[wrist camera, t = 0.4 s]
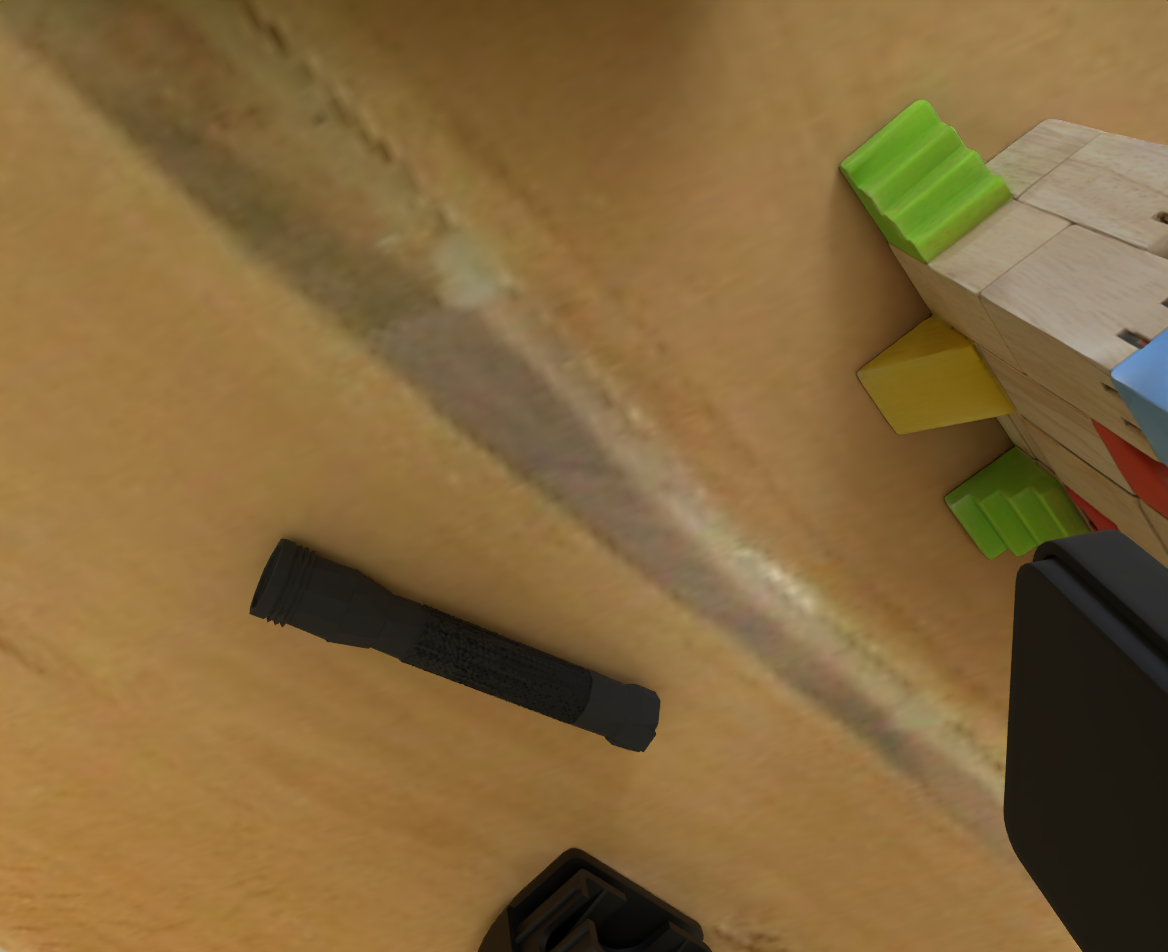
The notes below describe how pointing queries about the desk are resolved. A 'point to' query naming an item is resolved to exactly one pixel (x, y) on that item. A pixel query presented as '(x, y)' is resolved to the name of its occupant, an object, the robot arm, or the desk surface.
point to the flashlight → (448, 646)
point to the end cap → (590, 914)
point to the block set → (1032, 320)
